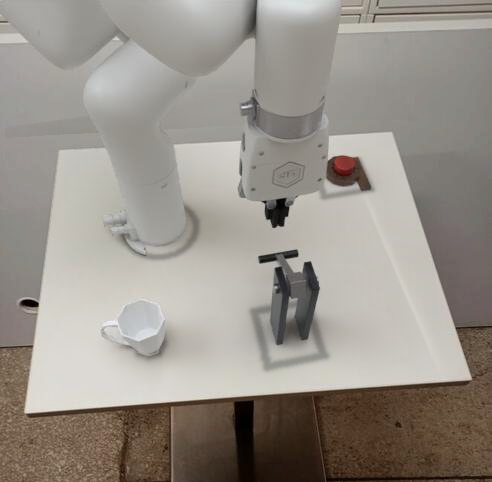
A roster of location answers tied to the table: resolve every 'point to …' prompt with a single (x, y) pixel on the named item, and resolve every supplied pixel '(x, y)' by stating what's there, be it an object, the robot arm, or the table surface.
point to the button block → (357, 176)
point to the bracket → (304, 304)
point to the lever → (288, 272)
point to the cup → (139, 326)
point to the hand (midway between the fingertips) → (275, 219)
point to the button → (344, 165)
